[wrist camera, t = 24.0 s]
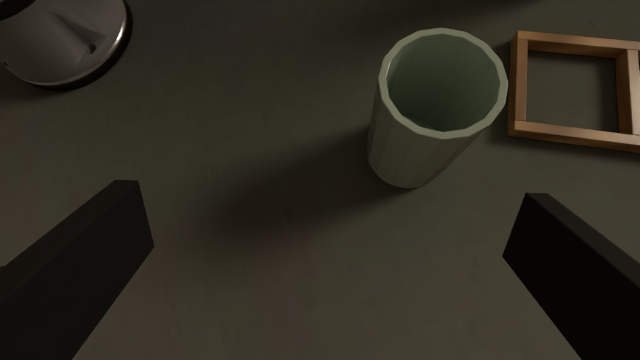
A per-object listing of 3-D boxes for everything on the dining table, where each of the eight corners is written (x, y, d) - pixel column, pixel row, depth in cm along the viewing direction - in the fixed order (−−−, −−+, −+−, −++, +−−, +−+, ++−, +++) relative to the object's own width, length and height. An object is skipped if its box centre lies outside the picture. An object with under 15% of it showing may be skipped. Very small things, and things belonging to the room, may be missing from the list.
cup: (361, 120, 33) (370, 37, 21) (437, 110, 33) (490, 20, 21) (372, 192, 31) (389, 146, 19) (453, 183, 31) (522, 129, 19)
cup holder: (506, 135, 32) (514, 129, 30) (510, 40, 34) (517, 30, 33) (754, 168, 29) (775, 163, 27) (737, 62, 32) (755, 52, 30)
